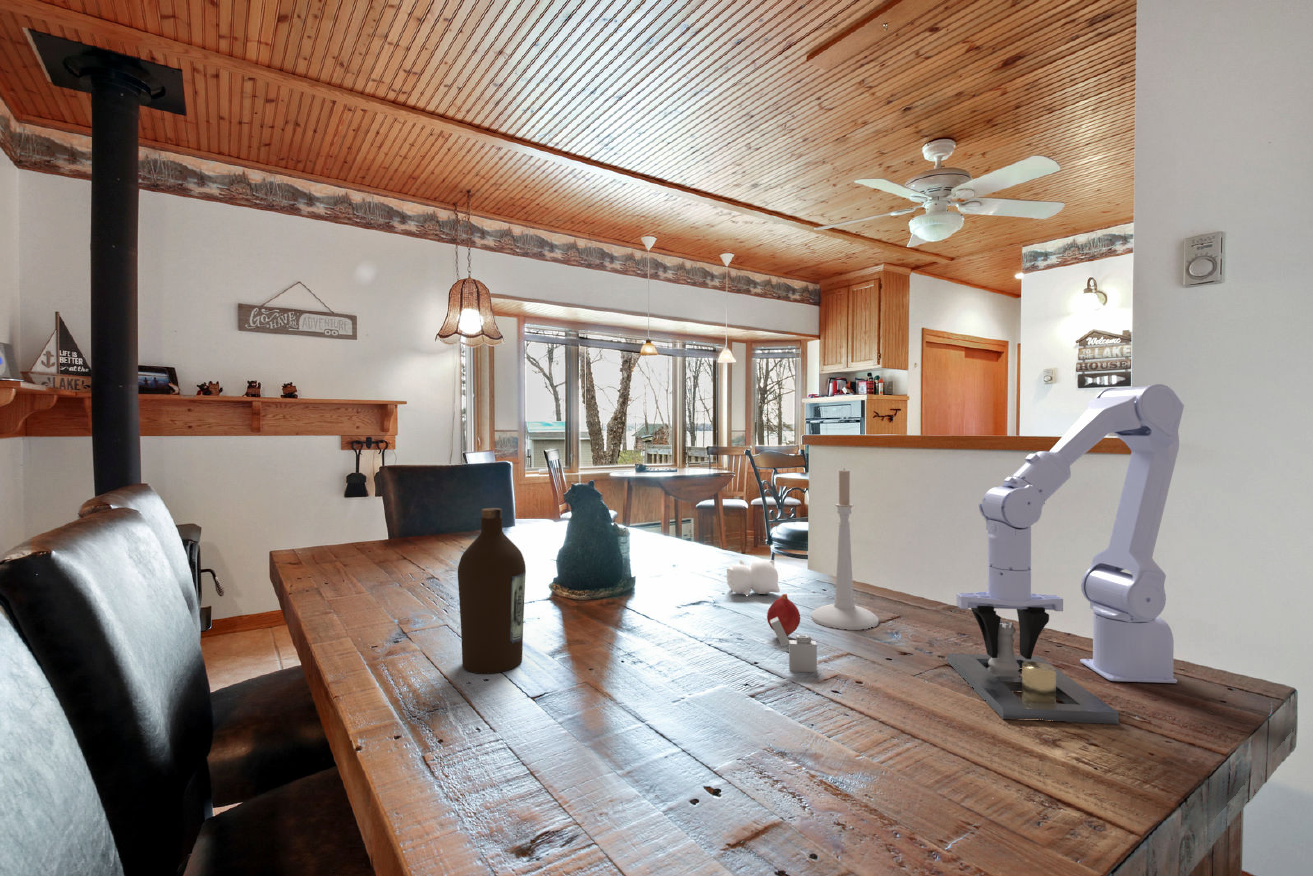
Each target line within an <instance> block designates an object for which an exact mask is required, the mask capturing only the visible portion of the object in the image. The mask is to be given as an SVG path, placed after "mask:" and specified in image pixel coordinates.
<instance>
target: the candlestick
mask: <svg viewBox="0 0 1313 876" xmlns="http://www.w3.org/2000/svg"><path fill="white" fill-rule="evenodd" d="M850 476H851V475H850V470H846V469H845V468H843V470H838V503H835V504H834V505H835V506H836V508H837V514H838V515H839V519H840V520H839V522H838V538H837V539H838V540H837V558H836V575H835V576H836V577H835V595H834V602H833V603H831V604H824V605H822V606H819V607H817V608H815V609H814V610H813V611H812V612H811V613H810V619H811V618H812V619H811V620H812V621H813V622H814V623H815V624H817V623H818V625H820V624H821V625H820V626H823V625H824V626H823V627H827V628H830V627H833V628H832V629H836V628H839V629H838V630H844V629H847V630H846V631H861V630H862V629H864V630H869V629H868V628H870V629H872V628H871V627H873V628H875V627H877V626H879V621H880V619H879V618H878V616H877V615H875V613H873V612H872V611H870V610H869V609H867V608H865V607H861V606H859V605H856V604H855V600H854V583H853V571H852V570H853V567H852V545H851V529H850V527H851V526H850V525H851V523H850V521H849V517H850V515H851V514H852V507H854V504H853V503H851V502H850V500H851V499H850V495H851V494H850V490H851V489H850V483H851V482H850V479H851V478H850Z"/></svg>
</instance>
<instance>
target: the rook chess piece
mask: <svg viewBox="0 0 1313 876" xmlns="http://www.w3.org/2000/svg"><path fill="white" fill-rule="evenodd" d="M1016 631H1017V629H1016V628H1015V627H1014V623H1013V622H1012V621H1011V622H1010V621H1009V620H1005V621H1004V623H1003V620H1002V619H1001V620H1000V624H999V630H998V656H997V658H992V657H991V659H990V660H989V661H988V665H989V666H990V667H988V668H987V670H989V671H990V672H991V673H992V674H993V675H995V676H1013V677H1021V672H1020V671H1019V670H1020V667H1019V664H1018V663H1017V662H1016V661H1017V660H1016V659H1015V657H1014V655H1015V653H1014V652H1015V651H1014V646H1013V645H1014V641H1015V639H1014V637H1013V635H1014V634H1015V633H1016Z"/></svg>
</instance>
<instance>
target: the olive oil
mask: <svg viewBox="0 0 1313 876" xmlns="http://www.w3.org/2000/svg"><path fill="white" fill-rule="evenodd" d="M502 510H503V509H502V508H499V507H487V508H482V509H481V517H480V529H481V530H480V531H481V532H480V533H479V534H478V536H477V537H476V538H475V539H474V540H473V542H471V544H470V545H469V546H468V547H467V548H466V549H465V550H464V551H463V554H462V555H461V557H460V559H459V563H458V567H457V582H458V583H457V585H458V598H459V599H458V600H459V602H458V603H459V615H460V616H459V617H460V634H461V637H460V638H461V659H462V660H461V662H462V663H461V664H462V668H463V669H464V670H465V671H467V672H469V673H473V674H481V675H482V674H485V675H486V674H498V673H503V672H507V671H510V670H512V669H515V668H516V667H518V666H519V665H520V664H521V663H522V662H523V651H524V650H523V649H524V648H523V647H524V646H523V644H524V643H523V642H524V640H523V639H524V619H525V617H524V615H525V591H526V590H525V589H526V573H527V570H526V563H525V558H524V556H523V552H521V550H520V548H519V547H517V545H515V543H514V542H513V541H512V540H511V539H510V538H509V537H508V536H507V535H506V534H505V533H504V531H503V516H502V514H503V513H502V512H503V511H502Z"/></svg>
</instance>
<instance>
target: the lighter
mask: <svg viewBox="0 0 1313 876" xmlns="http://www.w3.org/2000/svg"><path fill="white" fill-rule="evenodd" d="M770 623H771V625H772V627H773V629H774V630H773V629H772V630H773V632H774V633H775V636H776V637H777V640H778V641H779V643H780V646H781V647H783V648H784V647H785V646H788V669H789V672H808V673H817V672H818V643H817V641H816V640H813V639H812V637H811V636H809V635H807V634H796V635H795V637H796V638H795V640H794V639H789V636H788V637H787V635H786V633H785V631H784V629H783V627H782V625H781V623H780V621H779V619H778V617H776V618H774V619H771V620H770Z"/></svg>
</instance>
